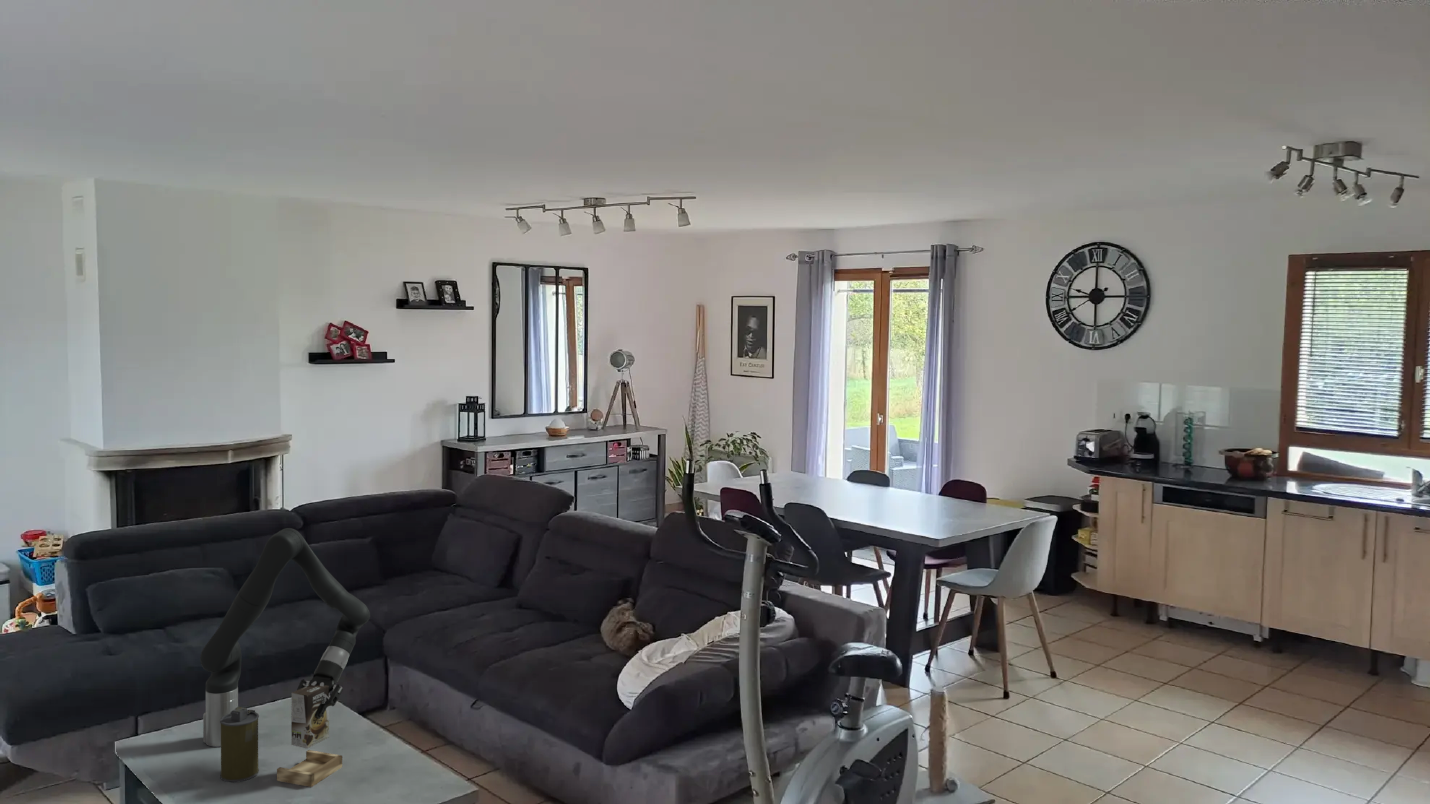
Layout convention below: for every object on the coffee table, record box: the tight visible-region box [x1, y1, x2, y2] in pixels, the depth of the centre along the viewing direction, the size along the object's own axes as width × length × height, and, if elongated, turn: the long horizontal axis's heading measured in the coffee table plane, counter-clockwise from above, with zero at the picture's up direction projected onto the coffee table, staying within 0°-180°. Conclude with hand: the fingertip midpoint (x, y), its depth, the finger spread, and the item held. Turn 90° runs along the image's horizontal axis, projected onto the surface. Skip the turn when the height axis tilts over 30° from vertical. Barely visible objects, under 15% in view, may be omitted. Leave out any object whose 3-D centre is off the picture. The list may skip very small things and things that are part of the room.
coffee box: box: [290, 684, 330, 750], centre depth 297 cm, size 9×6×16 cm
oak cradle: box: [276, 749, 343, 788], centre depth 298 cm, size 12×14×4 cm
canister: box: [219, 706, 260, 783], centre depth 296 cm, size 11×10×20 cm
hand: (306, 715), depth 295 cm, fingers closed on coffee box, 6 cm apart
